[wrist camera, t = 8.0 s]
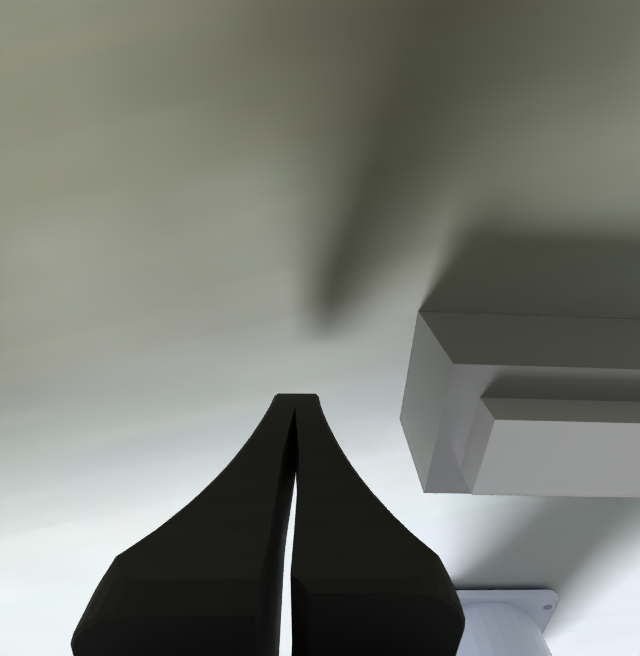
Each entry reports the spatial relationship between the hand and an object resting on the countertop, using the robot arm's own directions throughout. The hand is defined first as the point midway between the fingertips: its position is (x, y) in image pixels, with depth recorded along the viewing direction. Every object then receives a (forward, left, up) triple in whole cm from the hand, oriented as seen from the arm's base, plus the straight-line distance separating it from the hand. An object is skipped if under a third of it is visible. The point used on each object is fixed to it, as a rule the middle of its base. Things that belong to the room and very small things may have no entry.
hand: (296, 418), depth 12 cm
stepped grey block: (0, -9, -3) cm, 9 cm away
